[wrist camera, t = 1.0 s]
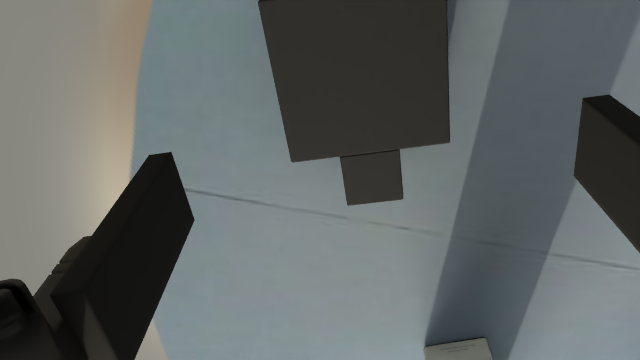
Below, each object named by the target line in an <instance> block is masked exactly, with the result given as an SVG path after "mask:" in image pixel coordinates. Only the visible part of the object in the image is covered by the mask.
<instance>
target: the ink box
mask: <svg viewBox="0 0 640 360" xmlns="http://www.w3.org/2000/svg"><path fill="white" fill-rule="evenodd" d="M424 354H425V360H493V359H492V356H491V353H490V350H489V347H488V344H487V341H486V339H485V338H480V339H473V340H467V341H460V342H454V343H447V344H441V345H435V346H428V347H425V348H424Z"/></svg>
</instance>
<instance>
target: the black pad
mask: <svg viewBox="0 0 640 360" xmlns="http://www.w3.org/2000/svg"><path fill="white" fill-rule="evenodd" d="M258 5H259V10H260V15H261V20H262V24H263V29H264V34H265V39H266V43H267V48H268V53H269V58H270V62H271V67H272V72H273V77H274V82H275V86H276V91H277V96H278V101H279V105H280V110H281V115H282V120H283V124H284V129H285V134H286V139H287V144H288V148H289V153H290V158H291V162H301V161H309V160H317V159H325V158H333V157H340V160H341V167H342V173H343V180H344V187H345V193H346V200H347V205H348V206H349V205H358V204H367V203H375V202H384V201H393V200H401V199H403V187H402V174H401V162H400V150H399V149H404V148H412V147H420V146H428V145H436V144H444V143H450V119H449V74H448V29H447V0H259V1H258Z"/></svg>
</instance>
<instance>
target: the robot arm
mask: <svg viewBox="0 0 640 360" xmlns="http://www.w3.org/2000/svg"><path fill="white" fill-rule="evenodd" d="M574 177H575V178H576V179H577V180H578V181H579V183H580V184H581V185H582V186H583V187H584V188H585V190H586V191H587V192H588V193H589V194H590V195H591V197H592V198H593V199H594V200H595V201H596V202H597V204H598V205H599V206H600V207H601V208H602V209H603V211H604V212H605V213H606V214H607V215H608V216H609V218H610V219H611V220H612V221H613V222H614V223H615V225H616V226H617V227H618V228H619V229H620V230H621V232H622V233H623V234H624V235H625V236H626V237H627V239H628V240H629V241H630V242H631V243H632V244H633V246H634V247H635V248H636V249H637V250H638V251H639V253H640V117H639V116H638V115H637V114H635V113H634V112H632V111H631V110H630V109H628V108H627V107H625V106H624V105H623V104H621V103H620V102H619V101H617V100H616V99H614V98H613V97H612V96H610V95H603V96H595V97H587V98H583V101H582V110H581V118H580V127H579V135H578V144H577V152H576V161H575V169H574ZM193 222H194V217H193V214H192V211H191V208H190V205H189V202H188V199H187V197H186V194H185V191H184V188H183V185H182V182H181V179H180V176H179V173H178V170H177V167H176V164H175V161H174V158H173V156H172V153H171V152H168V153H161V154H153V155H149V156H148V158H147V159H146V160H145V162H144V163H143V165H142V166H141V167H140V169H139V170H138V172H137V173H136V174H135V176H134V177H133V179H132V180H131V181H130V183H129V184H128V186H127V187H126V188H125V190H124V191H123V193H122V194H121V195H120V197H119V199H118V200H117V201H116V202H115V204H114V205H113V207H112V208H111V209H110V211H109V212H108V214H107V215H106V217H105V218H104V219H103V221H102V222H101V224H100V225H99V226H98V228H97V229H96V231H95V232H94V234H93V235H92V236H87V237H83V238H82V239H81V240H79V241H78V242H77V243H76V244H74V245H73V246H72V247H71V248H69V249H68V251H67V252H66V253H65V255H64V256H63V257H62V259H61V260H60V263H59V264H57V265H56V267H55V268H54V269H53V271H52V274H51V275H49V276H48V277H47V279H46V280H45V281H44V283H43V284H42V285H41V287H40V288H39V289H38V291H37V292H36V293H35V295H34V296H32V295H31V293H30V291H29V290H28V288H27V286H26V285H25V283H24V282H22V281H21V280H18V279H8V280H3V281H0V360H134V359H135V357H136V355H137V352H138V350H139V348H140V345H141V343H142V341H143V338H144V336H145V334H146V331H147V329H148V327H149V325H150V322H151V320H152V318H153V315H154V313H155V311H156V308H157V306H158V304H159V301H160V299H161V297H162V294H163V292H164V290H165V287H166V285H167V283H168V280H169V278H170V276H171V273H172V271H173V269H174V266H175V264H176V262H177V259H178V257H179V255H180V253H181V250H182V248H183V246H184V243H185V241H186V239H187V236H188V234H189V232H190V229H191V227H192V225H193Z"/></svg>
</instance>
